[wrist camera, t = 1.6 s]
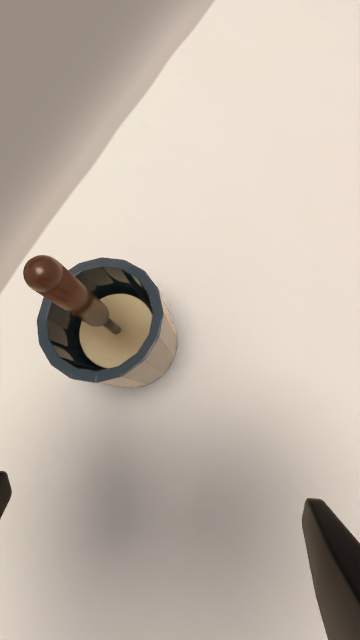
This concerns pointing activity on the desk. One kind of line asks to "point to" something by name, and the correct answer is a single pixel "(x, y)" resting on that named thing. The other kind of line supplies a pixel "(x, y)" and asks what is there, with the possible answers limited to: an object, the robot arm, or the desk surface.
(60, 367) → the faceted dark-rimmed cup
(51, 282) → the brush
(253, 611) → the desk surface
